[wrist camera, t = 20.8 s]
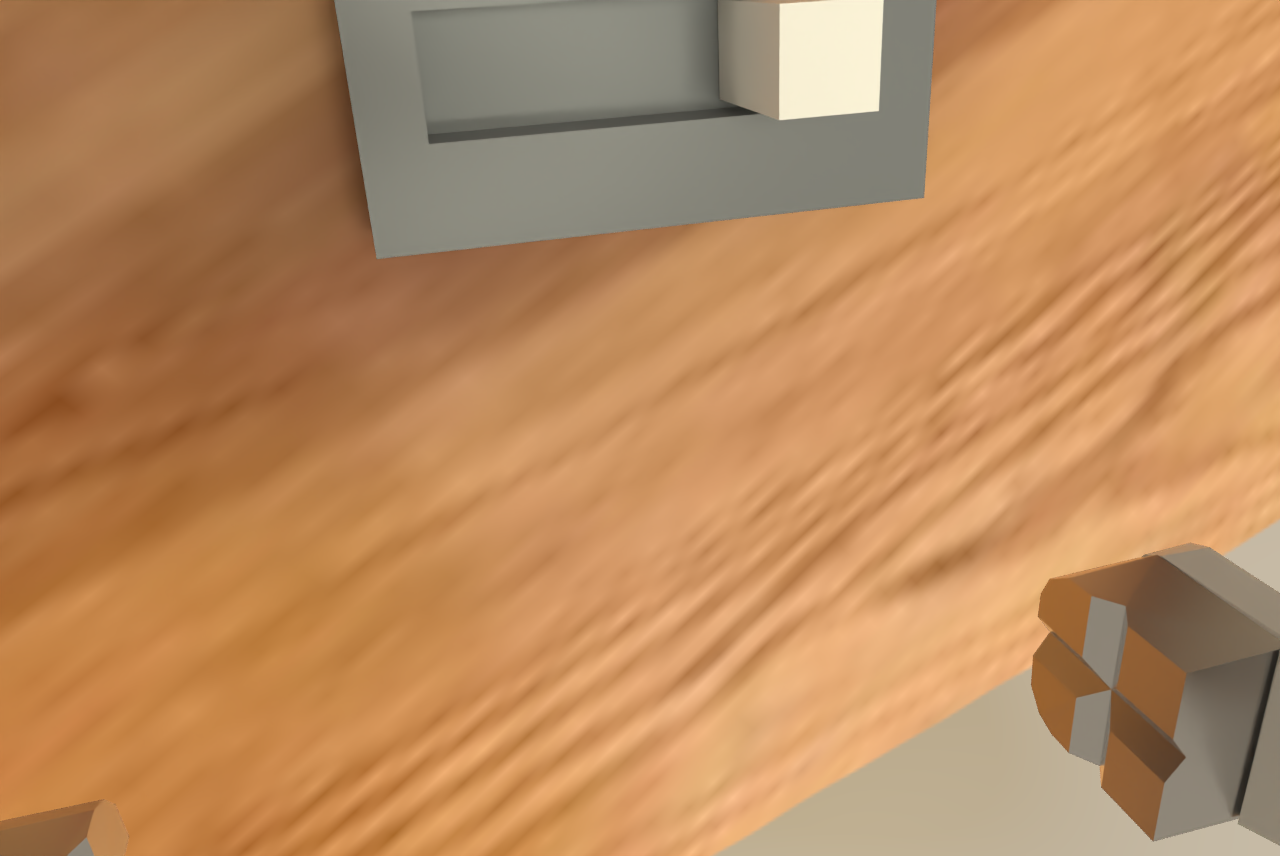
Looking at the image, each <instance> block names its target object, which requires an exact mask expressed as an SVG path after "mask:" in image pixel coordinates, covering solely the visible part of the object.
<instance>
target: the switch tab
mask: <svg viewBox="0 0 1280 856" xmlns="http://www.w3.org/2000/svg"><path fill="white" fill-rule="evenodd" d="M883 2H884V0H718V41H719V92H720V100H723V101H726V102H729V103H732V104H735V105H737V106H740V107H743V108H746V109H749V110H752V111H754V112H757V113H760V114H763V115H766V116H769V117H771V118H774V119H777V120H788V119H798V118H809V117H820V116H831V115H841V114H852V113H863V112H874V111H879V96H880V72H881V49H882V26H883Z"/></svg>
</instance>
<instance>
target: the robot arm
mask: <svg viewBox="0 0 1280 856" xmlns="http://www.w3.org/2000/svg"><path fill="white" fill-rule="evenodd" d="M1038 617H1039V619H1040V620H1041V621H1042V623H1043V624H1044V625H1045V627H1046V628H1047V629H1048V630H1049V632H1050V633H1049V634H1048V635H1047V637H1046V638H1045V640H1044V641H1043V642H1042V644H1041V645H1040V647H1039V648H1038V649H1037V651H1036V652H1035V654H1034V655H1033V665H1032V679H1031V686H1032V690H1033V693H1034V697H1035V700H1036V704H1037V707H1038V711H1039V713H1040V715H1041V717H1042V719H1043V720H1044V722H1045V724H1046V726H1047V727H1048V729H1049V731H1050V732H1051V734H1052V735H1053V736H1054V737H1055V738H1056V739H1057V740H1058V741H1059V743H1060V744H1061V745H1062V746H1063V747H1064V748H1065V749H1066V750H1067V752H1068V753H1070V754H1073V755H1075V756H1077V757H1080V758H1082V759H1084V760H1087V761H1089V762H1092V763H1094V764H1096V765H1099V766H1100V778H1101V788H1102V789H1103V790H1104V791H1105V792H1106V793H1107V794H1108V795H1109V796H1110V797H1111V798H1112V799H1113V800H1114V801H1115V802H1116V803H1117V804H1118V805H1119V806H1120V807H1121V808H1122V809H1123V811H1124V812H1125V813H1126V814H1127V815H1128V816H1129V817H1130V818H1131V819H1132V820H1133V821H1134V822H1135V823H1136V824H1137V825H1138V826H1139V827H1140V828H1141V829H1142V830H1143V831H1144V832H1145V834H1146V835H1147V836H1148V837H1149V838H1150V839H1151V840H1152V841H1157V840H1161V839H1164V838H1168V837H1171V836H1175V835H1179V834H1183V833H1187V832H1191V831H1194V830H1198V829H1202V828H1205V827H1209V826H1213V825H1216V824H1220V823H1224V822H1228V821H1231V820H1235V819H1239V820H1238V824H1239V825H1241V826H1243V827H1245V828H1247V829H1249V830H1251V831H1253V832H1255V833H1256V834H1258V835H1260V836H1262V837H1264V838H1266V839H1268V840H1270V841H1272V842H1274V843H1276V844H1278V845H1280V593H1279V592H1278V591H1276V590H1274V589H1273V588H1271V587H1270V586H1268V585H1267V584H1265V583H1264V582H1262V581H1260V580H1259V579H1257V578H1256V577H1254V576H1253V575H1251V574H1250V573H1248V572H1247V571H1245V570H1244V569H1242V568H1240V567H1239V566H1237V565H1236V564H1234V563H1233V562H1231V561H1230V560H1228V559H1227V558H1225V557H1223V556H1222V555H1220V554H1219V553H1217V552H1216V551H1214V550H1213V549H1211V548H1210V547H1206V546H1201V545H1197V544H1193V543H1188V544H1184V545H1180V546H1176V547H1172V548H1169V549H1165V550H1161V551H1157V552H1153V553H1149V554H1145V555H1143V556H1142V557H1141V558H1135V559H1131V560H1126V561H1122V562H1118V563H1114V564H1110V565H1106V566H1101V567H1097V568H1093V569H1089V570H1085V571H1081V572H1077V573H1072V574H1068V575H1064V576H1060V577H1056V578H1052V579H1049V581H1048V583H1047V584H1046V586H1045V588H1044V589H1043V591H1042V593H1041V597H1040V604H1039V612H1038ZM128 839H129V835H128V832H127V830H126V828H125V825H124V823H123V821H122V818H121V816H120V814H119V811H118V809H117V807H116V805H115V804H113V803H111V802H109V801H107V800H104V799H103V800H98V801H93V802H88V803H84V804H79V805H74V806H69V807H65V808H60V809H55V810H51V811H46V812H41V813H36V814H32V815H27V816H22V817H17V818H13V819H8V820H3V821H0V856H125V853H126V848H127V844H128Z"/></svg>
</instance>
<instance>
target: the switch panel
mask: <svg viewBox="0 0 1280 856" xmlns="http://www.w3.org/2000/svg"><path fill="white" fill-rule="evenodd" d="M334 2H335V9H336V15H337V21H338V27H339V33H340V39H341V45H342V51H343V57H344V63H345V69H346V75H347V81H348V88H349V94H350V100H351V106H352V112H353V118H354V124H355V130H356V136H357V142H358V148H359V154H360V160H361V167H362V173H363V179H364V185H365V191H366V197H367V203H368V209H369V215H370V221H371V227H372V233H373V239H374V245H375V252H376V258H377V259H382V258H391V257H400V256H409V255H418V254H427V253H436V252H444V251H453V250H462V249H471V248H480V247H489V246H498V245H507V244H516V243H525V242H534V241H543V240H552V239H561V238H570V237H579V236H587V235H596V234H605V233H614V232H623V231H632V230H641V229H650V228H659V227H668V226H677V225H686V224H695V223H704V222H713V221H722V220H730V219H739V218H748V217H757V216H766V215H775V214H784V213H793V212H802V211H811V210H820V209H829V208H838V207H847V206H856V205H865V204H874V203H882V202H891V201H900V200H909V199H918V198H924V190H925V174H926V158H927V142H928V126H929V111H930V95H931V79H932V63H933V47H934V31H935V15H936V0H884V2H883V26H882V49H881V72H880V96H879V111H874V112H863V113H852V114H841V115H831V116H820V117H809V118H798V119H788V120H777V119H774V118H771V117H769V116H766V115H763V114H760V113H757V112H754V111H752V110H749V109H746V108H743V107H740V106H737V105H735V104H732V103H729V102H726V101H723V100H720V92H719V41H718V0H334Z"/></svg>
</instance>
